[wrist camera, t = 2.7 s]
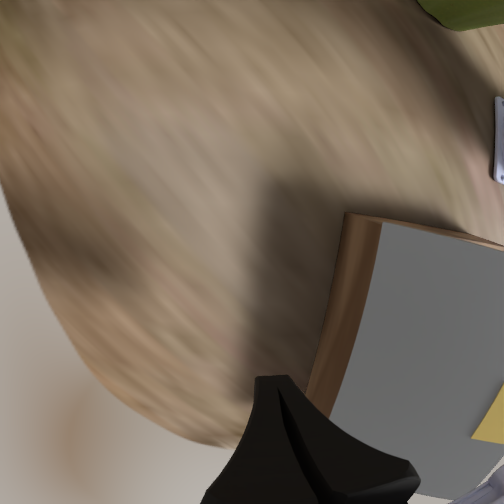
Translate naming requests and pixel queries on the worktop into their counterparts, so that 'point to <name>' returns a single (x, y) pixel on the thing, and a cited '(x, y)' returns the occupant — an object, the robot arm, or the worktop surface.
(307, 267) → the worktop surface
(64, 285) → the worktop surface
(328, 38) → the worktop surface
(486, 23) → the plant pot
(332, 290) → the box base
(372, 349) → the lid
